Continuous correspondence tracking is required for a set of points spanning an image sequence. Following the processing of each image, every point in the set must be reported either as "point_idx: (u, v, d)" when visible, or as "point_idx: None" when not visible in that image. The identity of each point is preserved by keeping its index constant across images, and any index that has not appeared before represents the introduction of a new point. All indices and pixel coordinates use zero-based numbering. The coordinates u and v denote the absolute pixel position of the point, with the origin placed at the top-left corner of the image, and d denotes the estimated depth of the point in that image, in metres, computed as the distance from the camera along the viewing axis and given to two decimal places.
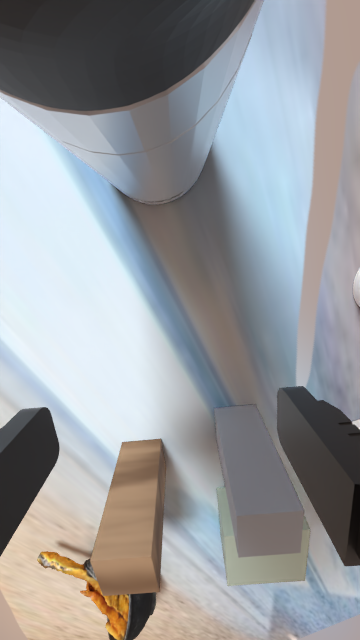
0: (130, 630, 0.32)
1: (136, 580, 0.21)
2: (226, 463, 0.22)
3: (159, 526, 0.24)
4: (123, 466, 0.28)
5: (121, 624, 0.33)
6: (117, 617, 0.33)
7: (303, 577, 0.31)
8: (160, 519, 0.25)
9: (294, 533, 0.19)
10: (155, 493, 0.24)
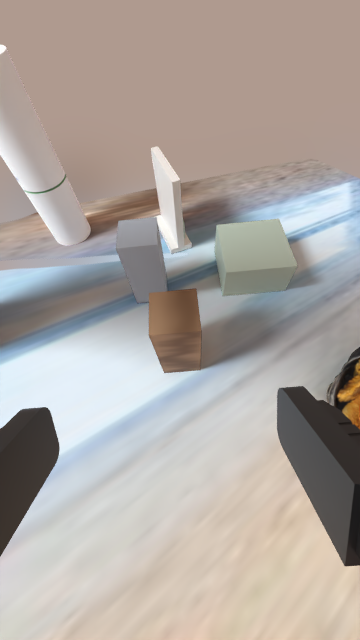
0: None
1: (179, 303, 0.25)
2: (125, 272, 0.33)
3: None
4: None
5: None
6: None
7: (274, 220, 0.39)
8: None
9: (137, 222, 0.31)
10: None
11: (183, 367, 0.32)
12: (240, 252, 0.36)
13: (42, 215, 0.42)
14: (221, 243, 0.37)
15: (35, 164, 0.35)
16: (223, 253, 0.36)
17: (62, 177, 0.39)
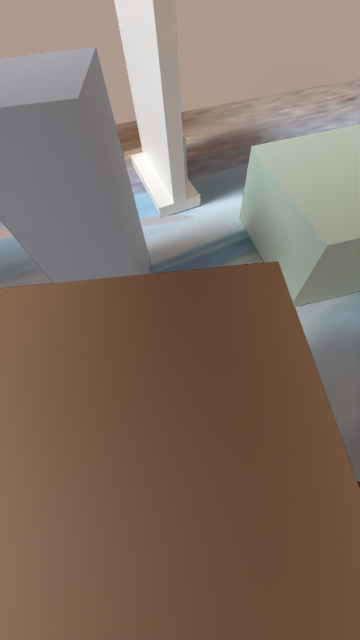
0: None
1: (150, 391, 0.03)
2: (14, 233, 0.11)
3: None
4: None
5: None
6: None
7: None
8: None
9: (31, 59, 0.09)
10: None
11: None
12: (338, 193, 0.14)
13: None
14: (279, 179, 0.15)
15: None
16: (295, 200, 0.14)
17: None
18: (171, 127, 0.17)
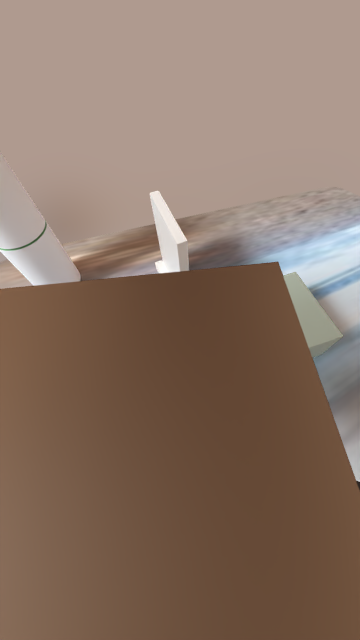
0: None
1: (149, 392, 0.03)
2: None
3: None
4: None
5: None
6: None
7: (291, 274, 0.32)
8: None
9: None
10: None
11: None
12: None
13: (20, 270, 0.35)
14: None
15: (4, 220, 0.27)
16: None
17: (41, 229, 0.32)
18: None
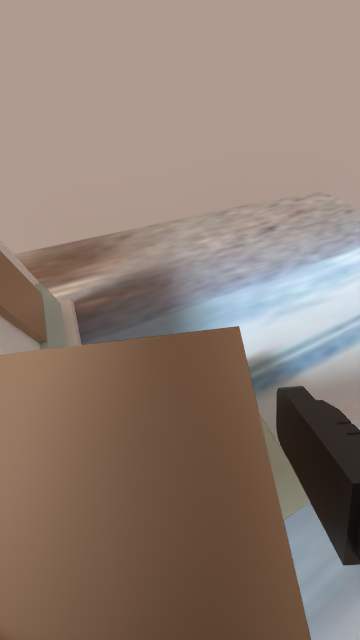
0: None
1: (146, 431, 0.04)
2: None
3: None
4: None
5: None
6: None
7: None
8: None
9: None
10: None
11: None
12: None
13: None
14: None
15: None
16: None
17: None
18: None
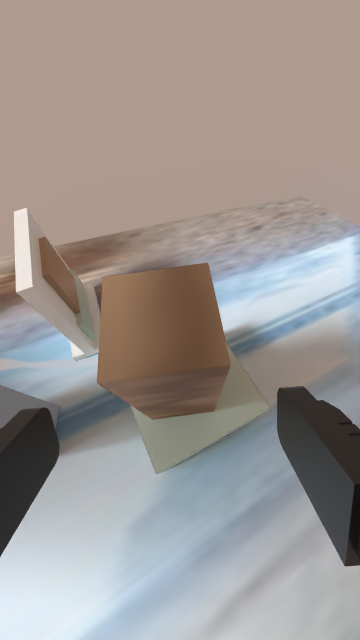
0: None
1: (171, 298, 0.11)
2: None
3: None
4: None
5: None
6: None
7: None
8: None
9: None
10: None
11: (185, 412, 0.18)
12: None
13: None
14: None
15: None
16: (139, 424, 0.19)
17: None
18: (63, 329, 0.23)
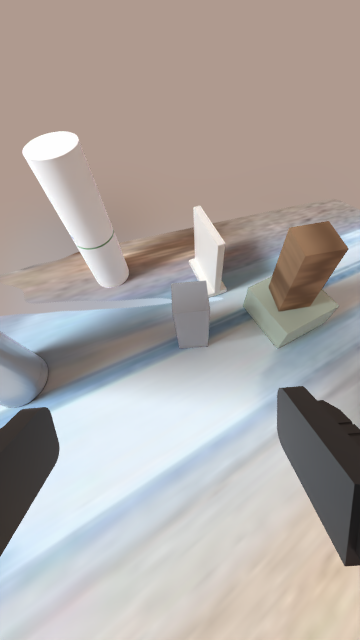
0: None
1: (319, 232, 0.30)
2: None
3: None
4: (282, 293, 0.36)
5: None
6: None
7: None
8: None
9: (189, 285, 0.34)
10: (279, 257, 0.35)
11: (299, 302, 0.37)
12: None
13: (90, 264, 0.45)
14: (264, 305, 0.39)
15: (91, 227, 0.38)
16: (272, 315, 0.38)
17: (111, 233, 0.42)
18: (218, 272, 0.42)
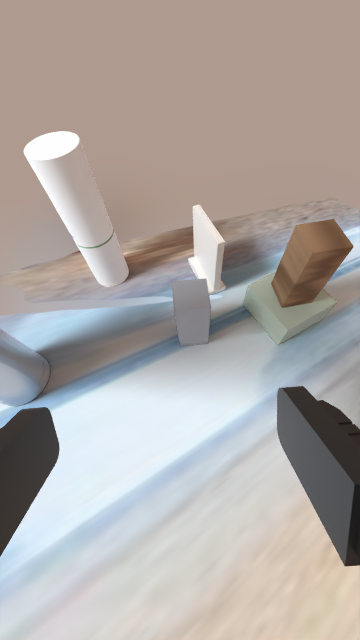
0: None
1: (325, 230, 0.30)
2: (176, 325, 0.37)
3: None
4: (286, 290, 0.36)
5: None
6: None
7: None
8: None
9: (189, 283, 0.35)
10: (283, 254, 0.35)
11: (302, 299, 0.38)
12: None
13: (90, 263, 0.46)
14: (264, 303, 0.40)
15: (92, 226, 0.38)
16: (273, 312, 0.39)
17: (111, 232, 0.42)
18: (217, 270, 0.42)
